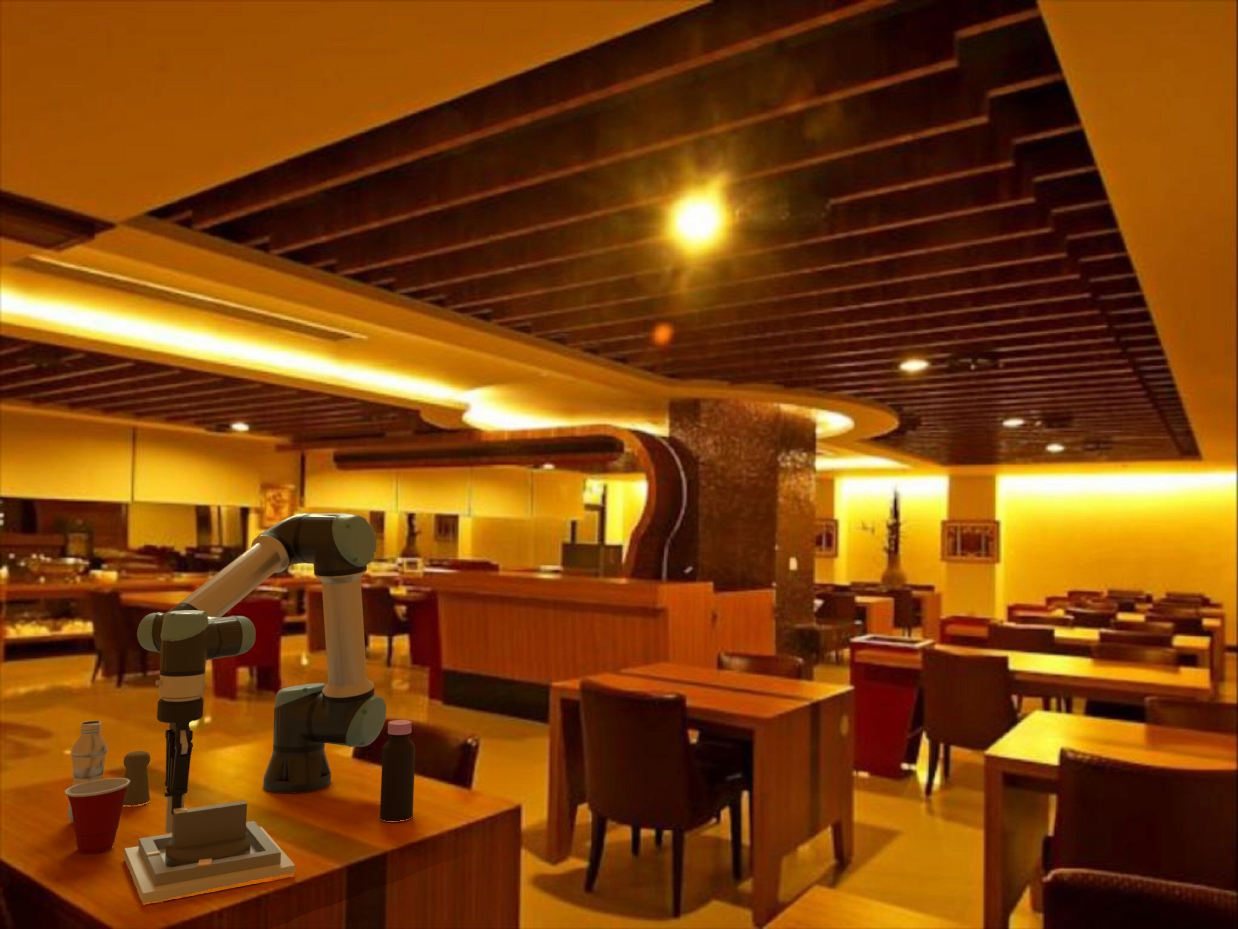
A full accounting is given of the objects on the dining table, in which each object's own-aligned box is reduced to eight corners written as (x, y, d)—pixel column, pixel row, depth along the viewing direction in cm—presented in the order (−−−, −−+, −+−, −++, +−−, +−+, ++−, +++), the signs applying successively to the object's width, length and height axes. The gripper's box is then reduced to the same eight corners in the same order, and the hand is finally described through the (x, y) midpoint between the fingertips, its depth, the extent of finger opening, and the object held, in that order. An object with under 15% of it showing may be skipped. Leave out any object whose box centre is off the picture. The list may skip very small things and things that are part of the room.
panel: (261, 837, 183) (262, 815, 183) (294, 877, 163) (295, 852, 163) (124, 859, 169) (125, 835, 170) (142, 906, 150) (144, 878, 150)
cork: (155, 799, 205) (158, 749, 206) (139, 808, 199) (142, 756, 200) (130, 798, 206) (132, 748, 206) (112, 806, 200) (115, 754, 200)
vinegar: (419, 818, 197) (422, 722, 198) (391, 825, 192) (395, 727, 193) (400, 811, 201) (404, 717, 202) (373, 818, 196) (377, 722, 198)
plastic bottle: (111, 819, 192) (117, 720, 193) (83, 829, 185) (89, 727, 186) (88, 815, 194) (93, 718, 195) (59, 825, 187) (65, 724, 189)
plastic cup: (78, 839, 180) (82, 775, 180) (136, 838, 180) (140, 776, 181) (49, 859, 169) (53, 792, 169) (110, 859, 170) (114, 792, 170)
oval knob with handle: (239, 837, 176) (242, 789, 177) (259, 859, 165) (261, 809, 165) (158, 850, 168) (161, 800, 169) (172, 875, 157) (175, 822, 157)
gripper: (152, 693, 171) (145, 824, 169) (163, 705, 160) (155, 845, 159) (196, 690, 175) (190, 817, 174) (210, 701, 164) (203, 838, 163)
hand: (173, 830), depth 166 cm, fingers closed
